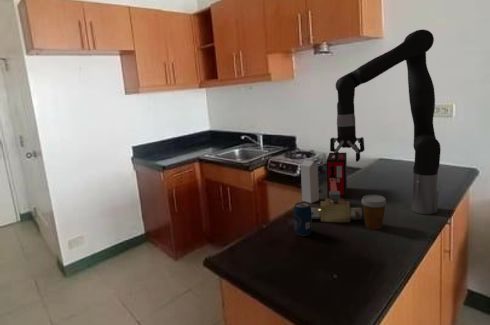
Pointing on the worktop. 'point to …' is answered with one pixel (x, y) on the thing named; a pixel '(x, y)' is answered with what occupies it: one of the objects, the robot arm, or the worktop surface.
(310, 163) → the milk
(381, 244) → the worktop surface
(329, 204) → the pipe valve
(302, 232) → the soda can
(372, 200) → the disposable coffee cup
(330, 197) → the lever
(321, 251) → the worktop surface
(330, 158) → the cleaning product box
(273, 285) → the worktop surface
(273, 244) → the worktop surface
